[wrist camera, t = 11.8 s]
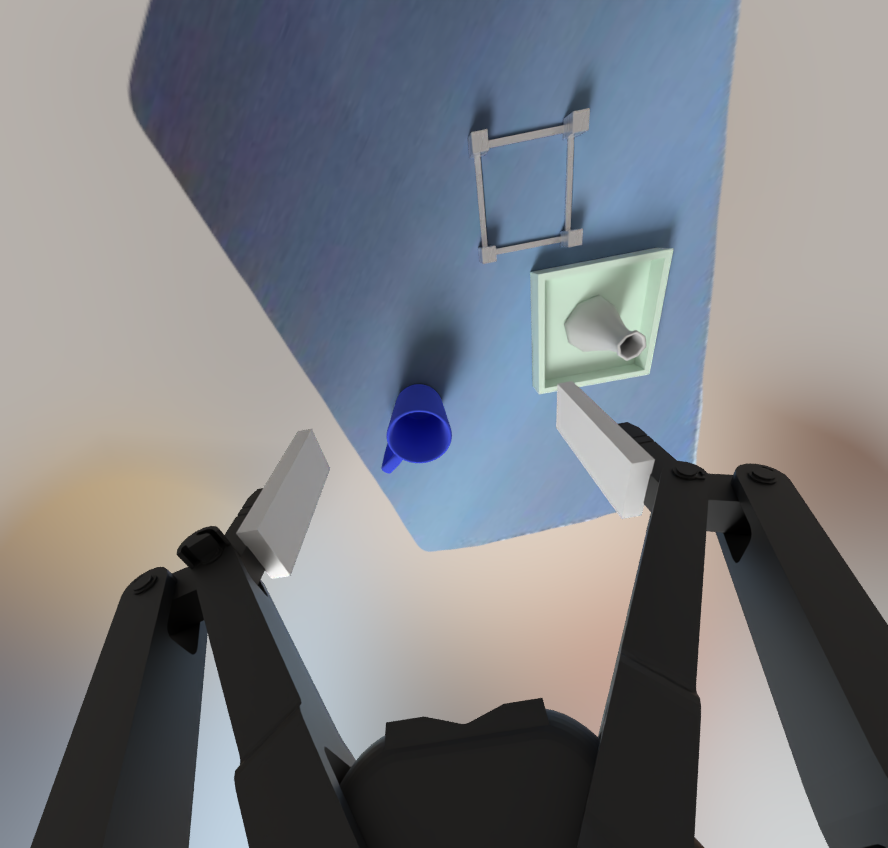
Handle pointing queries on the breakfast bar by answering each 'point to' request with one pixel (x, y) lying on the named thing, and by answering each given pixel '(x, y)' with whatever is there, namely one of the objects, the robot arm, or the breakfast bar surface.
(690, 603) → the robot arm
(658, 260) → the bin
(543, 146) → the breakfast bar surface
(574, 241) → the socket
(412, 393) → the mug
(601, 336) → the flask
